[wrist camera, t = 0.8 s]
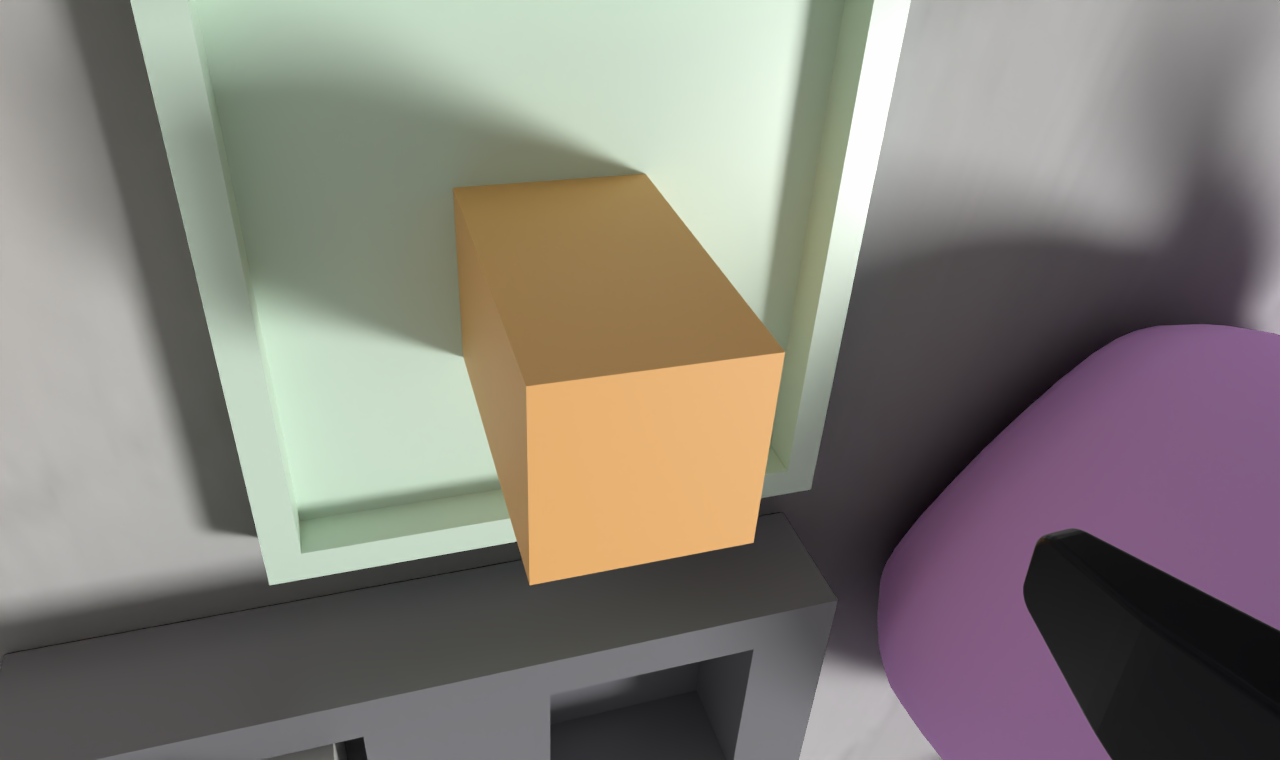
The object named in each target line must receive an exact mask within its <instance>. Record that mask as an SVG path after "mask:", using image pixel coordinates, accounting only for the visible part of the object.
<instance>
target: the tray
mask: <svg viewBox="0 0 1280 760" xmlns="http://www.w3.org/2000/svg"><path fill="white" fill-rule="evenodd" d="M130 2H131V6H132V10H133V15H134V19H135V23H136V27H137V31H138V36H139V40H140V44H141V48H142V52H143V57H144V61H145V65H146V69H147V73H148V78H149V82H150V86H151V90H152V94H153V99H154V103H155V107H156V111H157V115H158V120H159V124H160V128H161V132H162V136H163V141H164V145H165V149H166V153H167V157H168V162H169V166H170V170H171V174H172V178H173V183H174V187H175V191H176V195H177V199H178V204H179V208H180V212H181V216H182V220H183V225H184V229H185V233H186V237H187V241H188V246H189V250H190V254H191V258H192V262H193V267H194V271H195V275H196V279H197V283H198V288H199V292H200V296H201V300H202V304H203V309H204V313H205V317H206V321H207V325H208V330H209V334H210V338H211V342H212V346H213V351H214V355H215V359H216V363H217V367H218V372H219V376H220V380H221V384H222V388H223V393H224V397H225V401H226V405H227V409H228V414H229V418H230V422H231V426H232V430H233V435H234V439H235V443H236V447H237V451H238V456H239V460H240V464H241V468H242V472H243V477H244V481H245V485H246V489H247V493H248V498H249V502H250V506H251V510H252V514H253V519H254V523H255V527H256V531H257V535H258V540H259V544H260V548H261V552H262V556H263V561H264V565H265V569H266V573H267V577H268V582H269V585H275V584H280V583H286V582H292V581H297V580H303V579H309V578H314V577H320V576H326V575H331V574H337V573H343V572H348V571H354V570H359V569H365V568H371V567H376V566H382V565H388V564H393V563H399V562H405V561H410V560H416V559H422V558H427V557H433V556H438V555H444V554H450V553H455V552H461V551H467V550H472V549H478V548H484V547H489V546H495V545H501V544H506V543H512V542H517V540H516V537H515V533H514V530H513V526H512V523H511V520H510V516H509V513H508V509H507V506H506V502H505V499H504V495H503V492H502V489H501V485H500V482H499V478H498V475H497V471H496V468H495V465H494V461H493V458H492V454H491V451H490V447H489V444H488V440H487V437H486V434H485V430H484V427H483V423H482V420H481V416H480V413H479V409H478V406H477V403H476V399H475V396H474V392H473V389H472V385H471V382H470V378H469V375H468V372H467V368H466V365H465V361H464V358H463V345H462V329H461V313H460V296H459V280H458V264H457V248H456V232H455V215H454V199H453V188H456V187H470V186H483V185H497V184H511V183H525V182H538V181H552V180H566V179H580V178H593V177H607V176H621V175H635V174H646V175H647V176H648V178H649V179H650V180H651V181H652V183H653V184H654V185H655V187H656V188H657V189H658V190H659V192H660V193H661V194H662V195H663V197H664V198H665V199H666V201H667V202H668V203H669V204H670V206H671V207H672V208H673V210H674V211H675V212H676V213H677V215H678V216H679V217H680V218H681V220H682V221H683V222H684V224H685V225H686V226H687V227H688V229H689V230H690V231H691V232H692V234H693V235H694V236H695V238H696V239H697V240H698V241H699V243H700V244H701V245H702V247H703V248H704V249H705V250H706V252H707V253H708V254H709V255H710V257H711V258H712V259H713V261H714V262H715V263H716V264H717V266H718V267H719V268H720V270H721V271H722V272H723V273H724V275H725V276H726V277H727V278H728V280H729V281H730V282H731V284H732V285H733V286H734V287H735V289H736V290H737V291H738V292H739V294H740V295H741V296H742V298H743V299H744V300H745V301H746V303H747V304H748V305H749V307H750V308H751V309H752V310H753V312H754V313H755V314H756V315H757V317H758V318H759V319H760V321H761V322H762V323H763V324H764V326H765V327H766V328H767V330H768V331H769V332H770V333H771V335H772V336H773V337H774V338H775V340H776V341H777V342H778V344H779V345H780V346H781V347H782V349H783V350H784V351H785V356H784V362H783V368H782V374H781V380H780V386H779V392H778V398H777V404H776V410H775V416H774V422H773V428H772V434H771V440H770V446H769V453H768V459H767V465H766V471H765V477H764V483H763V489H762V495H761V498H766V497H771V496H777V495H783V494H788V493H794V492H800V491H805V490H811V487H812V482H813V477H814V472H815V467H816V462H817V457H818V452H819V447H820V442H821V438H822V433H823V428H824V423H825V418H826V413H827V408H828V403H829V398H830V394H831V389H832V384H833V379H834V374H835V369H836V364H837V359H838V354H839V350H840V345H841V340H842V335H843V330H844V325H845V320H846V315H847V310H848V305H849V301H850V296H851V291H852V286H853V281H854V276H855V271H856V266H857V261H858V257H859V252H860V247H861V242H862V237H863V232H864V227H865V222H866V217H867V213H868V208H869V203H870V198H871V193H872V188H873V183H874V178H875V173H876V169H877V164H878V159H879V154H880V149H881V144H882V139H883V134H884V129H885V124H886V120H887V115H888V110H889V105H890V100H891V95H892V90H893V85H894V80H895V76H896V71H897V66H898V61H899V56H900V51H901V46H902V41H903V36H904V32H905V27H906V22H907V17H908V12H909V7H910V2H911V0H130Z"/></svg>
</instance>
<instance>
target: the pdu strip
mask: <svg viewBox="0 0 1280 760" xmlns="http://www.w3.org/2000/svg"><path fill="white" fill-rule="evenodd" d="M837 603H838V599H837V598H836V596H835V595H834V593H833V591H832V590H831V588H830V587H829V585H828V583H827V582H826V580H825V579H824V577H823V576H822V574H821V572H820V571H819V569H818V568H817V566H816V564H815V563H814V561H813V560H812V558H811V556H810V555H809V553H808V552H807V550H806V548H805V547H804V545H803V544H802V542H801V540H800V539H799V537H798V536H797V534H796V532H795V531H794V529H793V528H792V526H791V524H790V523H789V521H788V520H787V518H786V516H785V515H784V513H783V512H782V513H777V514H771V515H766V516H760V517H758V519H757V525H756V531H755V537H754V543H749V544H744V545H739V546H734V547H728V548H723V549H718V550H713V551H707V552H702V553H697V554H692V555H687V556H681V557H676V558H671V559H666V560H660V561H655V562H650V563H645V564H639V565H634V566H629V567H624V568H618V569H613V570H608V571H603V572H597V573H592V574H587V575H582V576H576V577H571V578H566V579H561V580H555V581H550V582H545V583H540V584H534V585H529V582H528V578H527V575H526V571H525V568H524V564H523V561H522V560H520V561H514V562H509V563H503V564H498V565H492V566H487V567H481V568H476V569H470V570H465V571H459V572H454V573H448V574H443V575H438V576H432V577H427V578H421V579H416V580H410V581H405V582H399V583H394V584H388V585H383V586H377V587H372V588H366V589H361V590H355V591H350V592H345V593H339V594H334V595H328V596H323V597H317V598H312V599H306V600H301V601H295V602H290V603H284V604H279V605H273V606H268V607H263V608H257V609H252V610H246V611H241V612H235V613H230V614H224V615H219V616H213V617H208V618H202V619H197V620H191V621H186V622H180V623H175V624H170V625H164V626H159V627H153V628H148V629H142V630H137V631H131V632H126V633H120V634H115V635H109V636H104V637H98V638H93V639H87V640H82V641H77V642H71V643H66V644H60V645H55V646H49V647H44V648H38V649H33V650H27V651H22V652H16V653H11V654H5V656H4V659H3V663H2V666H1V670H0V760H262V759H267V758H271V757H276V756H280V755H285V754H289V753H294V752H298V751H302V750H307V749H311V748H316V747H320V746H325V745H329V744H334V743H338V742H343V741H344V744H345V749H346V754H347V760H799V756H800V752H801V748H802V744H803V740H804V736H805V732H806V728H807V724H808V720H809V716H810V712H811V708H812V704H813V700H814V696H815V692H816V688H817V684H818V680H819V675H820V671H821V667H822V663H823V659H824V655H825V651H826V647H827V643H828V639H829V635H830V631H831V627H832V623H833V619H834V615H835V611H836V607H837Z"/></svg>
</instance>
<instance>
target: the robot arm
mask: <svg viewBox="0 0 1280 760" xmlns="http://www.w3.org/2000/svg"><path fill="white" fill-rule="evenodd" d="M1023 595H1024V601H1025V604H1026V606H1027V609H1028V611H1029V613H1030V615H1031V617H1032V618H1033V620H1034V622H1035V624H1036V626H1037V628H1038V630H1039V631H1040V633H1041V635H1042V637H1043V639H1044V641H1045V643H1046V645H1047V646H1048V648H1049V650H1050V652H1051V654H1052V656H1053V658H1054V659H1055V661H1056V663H1057V665H1058V667H1059V669H1060V671H1061V673H1062V674H1063V676H1064V678H1065V680H1066V682H1067V684H1068V686H1069V687H1070V689H1071V691H1072V693H1073V695H1074V697H1075V699H1076V701H1077V702H1078V704H1079V706H1080V708H1081V710H1082V712H1083V714H1084V715H1085V717H1086V719H1087V721H1088V722H1089V724H1090V726H1091V728H1092V729H1093V731H1094V733H1095V734H1096V736H1097V738H1098V739H1099V741H1100V742H1101V744H1102V745H1103V747H1104V749H1105V750H1106V752H1107V753H1108V755H1109V756H1110V758H1111V759H1112V760H1280V630H1278V629H1276V628H1274V627H1272V626H1270V625H1268V624H1266V623H1264V622H1262V621H1260V620H1258V619H1256V618H1254V617H1253V616H1251V615H1249V614H1247V613H1245V612H1243V611H1241V610H1239V609H1237V608H1235V607H1233V606H1231V605H1229V604H1227V603H1225V602H1223V601H1221V600H1219V599H1217V598H1215V597H1213V596H1211V595H1209V594H1207V593H1205V592H1203V591H1202V590H1200V589H1198V588H1196V587H1194V586H1192V585H1190V584H1188V583H1186V582H1184V581H1182V580H1180V579H1178V578H1176V577H1174V576H1172V575H1170V574H1168V573H1166V572H1164V571H1162V570H1160V569H1158V568H1156V567H1154V566H1153V565H1151V564H1149V563H1147V562H1145V561H1143V560H1141V559H1139V558H1137V557H1135V556H1133V555H1131V554H1129V553H1127V552H1125V551H1123V550H1121V549H1119V548H1117V547H1115V546H1113V545H1111V544H1109V543H1107V542H1105V541H1103V540H1102V539H1100V538H1098V537H1096V536H1094V535H1092V534H1090V533H1088V532H1086V531H1083V530H1080V529H1076V528H1070V529H1065V530H1061V531H1057V532H1054V533H1050V534H1046V535H1043V536H1042V537H1041V538H1039V539H1038V541H1037V542H1036V545H1035V548H1034V551H1033V554H1032V558H1031V561H1030V564H1029V568H1028V571H1027V574H1026V578H1025V581H1024V585H1023Z"/></svg>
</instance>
